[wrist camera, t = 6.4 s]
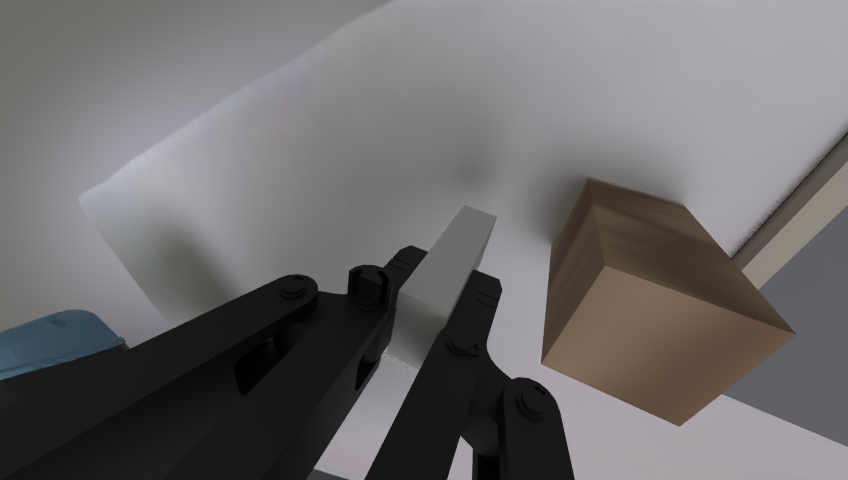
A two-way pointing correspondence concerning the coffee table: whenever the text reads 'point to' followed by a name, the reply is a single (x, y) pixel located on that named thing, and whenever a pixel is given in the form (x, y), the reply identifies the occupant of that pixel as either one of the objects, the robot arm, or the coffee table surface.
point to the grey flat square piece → (805, 302)
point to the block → (651, 305)
